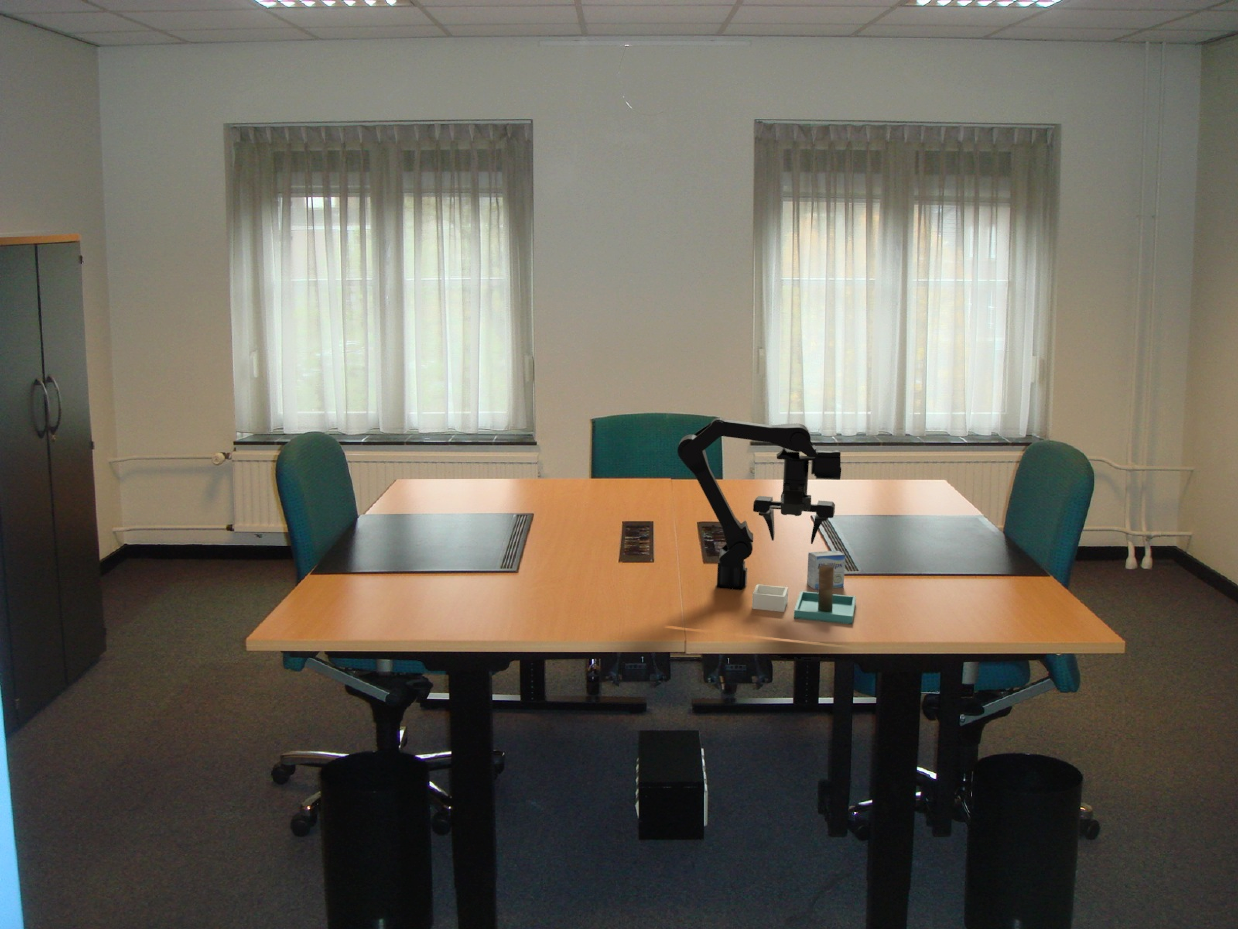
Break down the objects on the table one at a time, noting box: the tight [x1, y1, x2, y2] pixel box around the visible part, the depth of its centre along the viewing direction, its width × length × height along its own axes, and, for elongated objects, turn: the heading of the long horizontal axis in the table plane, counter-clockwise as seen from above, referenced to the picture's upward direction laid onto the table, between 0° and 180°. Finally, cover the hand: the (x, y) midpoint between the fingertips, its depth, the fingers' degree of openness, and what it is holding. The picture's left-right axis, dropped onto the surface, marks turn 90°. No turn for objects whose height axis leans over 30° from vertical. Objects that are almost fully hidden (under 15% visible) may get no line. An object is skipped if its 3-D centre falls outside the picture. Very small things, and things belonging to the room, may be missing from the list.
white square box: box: [751, 584, 789, 613], centre depth 242 cm, size 7×7×4 cm
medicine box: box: [806, 550, 846, 590], centre depth 257 cm, size 8×4×9 cm, turn 105°
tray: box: [793, 590, 857, 625], centre depth 239 cm, size 13×14×2 cm
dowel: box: [817, 565, 834, 612], centre depth 238 cm, size 3×3×10 cm
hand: (792, 541), depth 253 cm, fingers open, 9 cm apart
